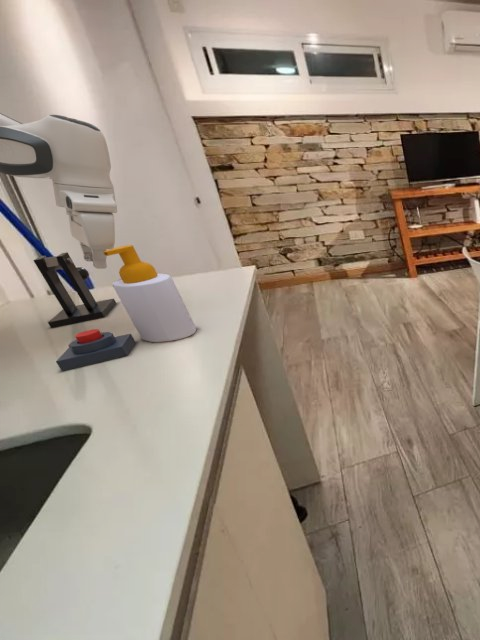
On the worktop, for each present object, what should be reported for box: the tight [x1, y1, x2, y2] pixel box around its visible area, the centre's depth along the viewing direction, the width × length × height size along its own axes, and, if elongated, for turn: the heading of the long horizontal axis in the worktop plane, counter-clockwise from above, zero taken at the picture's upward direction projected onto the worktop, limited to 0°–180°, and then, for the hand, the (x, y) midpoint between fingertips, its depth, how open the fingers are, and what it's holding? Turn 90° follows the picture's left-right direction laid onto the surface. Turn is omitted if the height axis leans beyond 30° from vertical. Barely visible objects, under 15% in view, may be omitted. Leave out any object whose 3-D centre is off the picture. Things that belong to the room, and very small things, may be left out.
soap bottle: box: [103, 244, 197, 343], centre depth 103 cm, size 13×8×20 cm, turn 73°
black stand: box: [33, 251, 117, 329], centre depth 119 cm, size 12×10×16 cm
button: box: [74, 328, 103, 344], centre depth 97 cm, size 4×4×2 cm
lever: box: [44, 255, 90, 281], centre depth 122 cm, size 14×4×4 cm, turn 30°
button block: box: [55, 331, 136, 372], centre depth 98 cm, size 10×8×4 cm
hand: (95, 264), depth 104 cm, fingers open, 8 cm apart
